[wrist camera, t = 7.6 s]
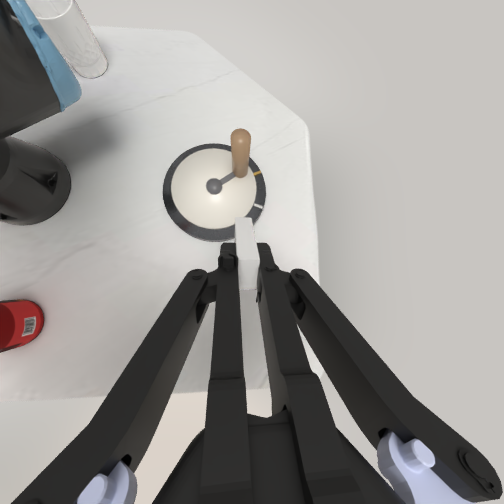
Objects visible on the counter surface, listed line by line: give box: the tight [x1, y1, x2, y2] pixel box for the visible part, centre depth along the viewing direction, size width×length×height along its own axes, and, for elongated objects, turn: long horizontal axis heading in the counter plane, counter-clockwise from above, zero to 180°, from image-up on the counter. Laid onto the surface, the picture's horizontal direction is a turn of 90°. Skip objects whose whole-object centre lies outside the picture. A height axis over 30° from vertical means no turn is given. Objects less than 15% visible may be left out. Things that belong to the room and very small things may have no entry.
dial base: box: [163, 144, 266, 242], centre depth 39 cm, size 20×20×2 cm
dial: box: [171, 129, 256, 230], centre depth 33 cm, size 16×16×10 cm
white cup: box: [25, 0, 108, 78], centre depth 37 cm, size 8×8×10 cm
